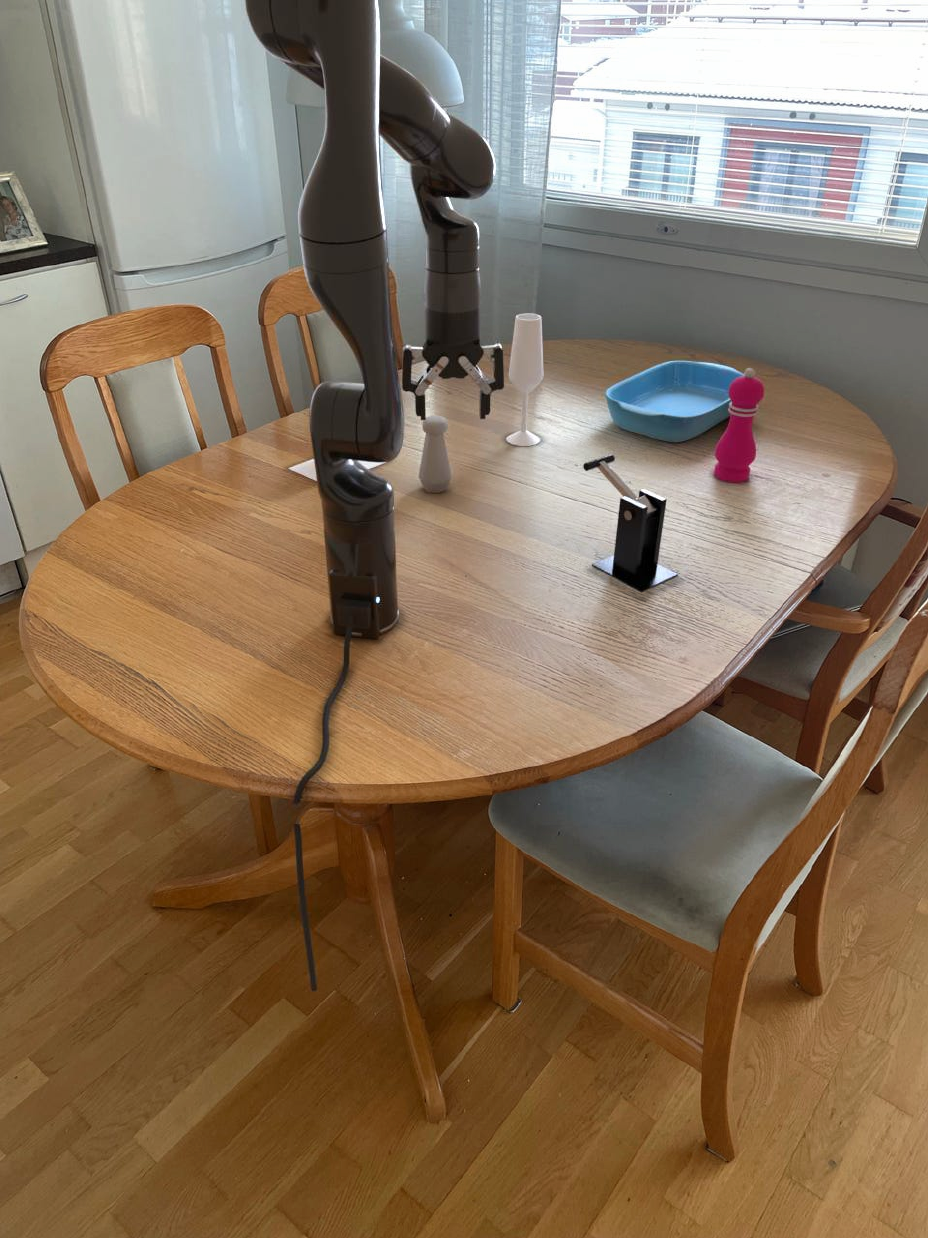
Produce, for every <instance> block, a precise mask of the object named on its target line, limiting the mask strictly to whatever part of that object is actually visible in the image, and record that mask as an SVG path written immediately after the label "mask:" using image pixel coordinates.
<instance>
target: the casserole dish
mask: <svg viewBox="0 0 928 1238" xmlns="http://www.w3.org/2000/svg"><path fill="white" fill-rule="evenodd" d="M742 376H745V375H744V372H743V373H742V372H741V371H739V370H736V369H735V368H733V367H730V366H727V365H724V364H723V365H722V364H718V363H712V362H704V361H703V362H702V361H690V360H672V361H666V362H663V363H660V364H656V365H654V366H652V367H650V368H647V369H646V370H644V371H641V372H639V373H637V374H635V375H632V376H631V377H627V378H626V379H624V380H621V381H619V382H617V383H616V384H614V385H612V386H610V387H609V388H607V390H606V391H605V393H604V395H605V398H606V403H607V407H608V411H609V414H610V417H611V420H612V421H613V422H614V424H615V425H617V426H618V428H620V429H622V430H625V431H628V432H631V433H634V434H637V435H641V436H645V437H647V438H651V439H654V440H658V441H663V442H668V443H681V442H686V441H689V440H692V439H693V438H695V437H698V436H700V435H702V434H703V433H705V432H707V431H708V430H710V429H712V428H713V427H715V426H717V425H718V424H720V423H722V422H723V421H724V420H726V419H728V418H730V412H729V411H728V409H729V407H730V406H729V403H730V402H732V401H731V399H730V398H729V395H728V391H729V387H730V385H731V383H732V382H733V381H734V380H735V379H736V378H738V377H742Z"/></svg>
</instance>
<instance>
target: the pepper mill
mask: <svg viewBox="0 0 928 1238" xmlns="http://www.w3.org/2000/svg"><path fill="white" fill-rule="evenodd" d="M743 374H744V375H745V376H742V377H738V378H736V379H735V380H734V381H733V382H732V383H731V385H730V387H729V391H728V395H729V398H730V399H731V401H732V402H730V403H729V406H730V407H729V409H728V411H729V412H730V416H729V421H728V425H727V427H726V430H725V431H724V433H723V434H722V436H721V437H720V438H719V440H718V442H717V443H716V445H715V449H714V457H715V459H716V461H717V462H716V463H715V465H714V470H713V474H714V476H715V478H717V479H719V480H720V481H723V482H729V483H741V482H745V481H747V480H748V479H749V478H750V474H751V467H750V465H751V464H752V463H753V462H754V461H755V460H756V458H757V457H756V456H757V447H756V441H755V438H754V433H753V423H754V422H753V421H754V417H755V416H756V415H758V410H759V405H758V404H759V403H760V402H761V401H762V400H763V399H764V396H765V386H764V383H763V382H762V380H760V379H759V378H757V377H755V375H756V371H755V370H754V368H751V367H748V368H746V369H745V370H744V372H743Z"/></svg>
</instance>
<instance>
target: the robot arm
mask: <svg viewBox="0 0 928 1238" xmlns="http://www.w3.org/2000/svg"><path fill="white" fill-rule="evenodd" d="M244 3H245V11H246V15H247V19H248V23H249V26H250V28H251V31H252V33H253V35H254V37H255V38H256V40H257V41H258V43H259V45H261V47H262V48H263V49H264V50H265V51H266V52H267V53H268V54H269V55H270V56H271V57H272V58H274V59H276V60H277V61H279V62H280V63H281V64H283V65H285V66H286V67H288V68H289V69H291V70H293V71H295V72H297V74H299V75H301V76H303V77H304V78H306V79H308V80H309V81H310V82H312V83H314V85H316V86H318V87H319V88H320V89H321V90H323V91H324V102H325V103H324V104H325V105H324V106H325V107H324V108H325V122H324V123H325V125H324V131H323V138H322V141H321V145H320V148H319V150H318V153H317V156H316V159H315V161H314V163H313V165H312V167H311V170H310V172H309V175H308V177H307V179H306V182H305V184H304V188H303V191H302V193H301V196H300V199H299V205H298V210H297V224H298V226H297V227H298V236H299V243H300V251H301V258H302V266H303V272H304V276H305V280H306V282H307V285H308V286H309V289H310V291H311V292H312V295H313V296H314V298H315V299H316V300H317V302H318V304H319V305H320V307H321V308H322V309H323V311H324V312H325V314H326V315H327V316H328V317H329V319H330V321H332V323H333V324H334V326H335V328H337V329H338V331H339V332H340V334H341V336H343V338H344V339H345V341H346V343H347V344H348V346H349V347H350V349H351V351H352V353H353V356H354V357H355V359H356V362H357V364H358V367H359V371H360V374H361V379H362V382H363V383H362V382H351V381H341V380H327V381H323V382H321V383H319V385H318V386H317V387H316V388H315V390H314V392H313V393H312V397H311V400H310V405H309V415H308V416H309V417H308V418H309V433H310V434H309V435H310V442H311V449H312V455H313V459H314V463H315V470H316V478H317V481H316V485H317V487H316V488H317V492H318V495H319V497H320V500H321V501H320V502H321V511H322V513H321V514H322V522H323V523H322V525H323V538H324V548H325V550H324V551H325V560H326V572H327V585H328V586H327V587H328V595H329V596H328V598H329V607H330V615H329V616H330V617H329V618H330V624H331V626H332V629H333V634H334V635H338V636H345V637H344V642H343V664H342V669H341V673H340V676H339V678H338V681H337V683H336V685H335V687H334V688H333V690H332V691H331V693H330V695H329V696H328V698H327V700H326V702H325V704H324V708H323V712H322V719H321V728H322V730H321V731H322V744H321V750H320V754H319V758H318V760H317V761H316V763H314V765H313V766H312V767H311V768H310V769H309V770H307V772H306V773H305V774H304V775H303V777H302V778H301V779H300V781H299V783H298V785H297V787H296V791H295V793H294V797H293V804H294V805H298V804H300V803H301V799H302V796H303V792H304V790H305V787H306V785H307V783H308V782H309V781H310V780H311V779H312V777H313V776H315V775H316V774H317V773H318V772H319V771H320V769H322V767H323V765H324V763H325V761H326V759H327V756H328V752H329V746H330V730H329V729H330V728H329V719H330V712H331V708H332V705H333V702H334V701H335V699H336V698H337V696H338V694H339V693H340V691H341V689H342V687H343V686H344V683H345V681H346V679H347V676H348V672H349V668H350V648H351V647H350V646H351V641H352V637H354V638H364V639H371V640H378V639H379V637H380V636H381V635H383V634H385V633H387V632H389V631H391V630H392V629H393V628H395V627H396V626H397V624H398V622H399V620H400V612H399V602H398V578H397V552H396V521H395V519H396V518H395V493H394V488H393V486H392V484H391V483H390V481H389V480H388V479H386V478H385V477H383V476H382V475H380V474H378V473H376V472H374V471H373V470H371V469H367V468H366V467H364V466H363V465H361V464H360V463H359V462H358V461H366V462H378V463H383V464H385V463H384V462H386V463H389V462H390V463H391V462H392V461H394V460H395V459H396V458H397V457H398V456H399V455H400V453H401V450H402V447H403V443H404V437H405V410H404V403H403V395H402V390H403V391H404V392H406V393H407V392H409V393H412V394H413V395H414V405H415V406H414V408H415V410H414V411H415V415H416V417H420V421H423V420H426V416H427V415H426V414H427V413H426V391H427V390H428V388H429V387H430V386H432V385H433V383H434V382H435V381H436V379H437V378H438V377H439V378H441V379H442V380H449V379H454V378H455V379H459V380H460V379H462V380H463V379H465V378H466V377H468V376H469V377H470V378H471V379H472V381H473V382H474V383H475V385H476V386H478V388H479V405H478V406H479V407H478V408H479V410H478V411H479V414H478V415H479V419H480V420H486V416H489V415H490V413H491V395H492V394H493V392H495V391H501V390H503V389H504V387H505V373H504V372H505V371H504V368H505V367H504V349H503V347H502V344H501V343H500V342H498V341H497V342H494V343H493V344H492V345H482V343H481V302H482V301H481V299H482V294H481V293H482V285H481V275H480V228H479V225H478V224H477V223H476V221H474V220H473V219H471V218H469V217H466V216H464V215H461V214H459V213H458V212H457V211H456V210H455V209H454V207H453V204H452V203H451V200H450V199H459V200H467V201H468V200H469V201H470V200H476V199H479V198H481V197H483V196H485V194H487V192H488V191H489V190H490V189H491V187H492V185H493V183H494V180H495V178H496V177H495V176H496V159H495V156H494V153H493V150H492V148H491V146H490V144H489V142H488V141H487V140H486V139H485V138H484V137H483V136H482V135H481V134H480V133H479V132H478V131H477V130H476V129H474V128H473V127H471V126H470V125H468V124H466V123H465V122H463V121H462V120H461V119H459V118H457V117H455V116H454V115H452V114H450V113H449V112H448V111H447V112H446V111H445V110H444V108H443V107H442V105H441V104H440V103H439V102H438V100H437V99H436V97H434V96H433V95H432V93H431V92H430V91H429V89H428V88H427V87H426V86H425V85H424V84H423V83H422V82H421V81H420V80H419V79H418V78H417V77H416V76H414V75H413V74H412V73H411V72H409V71H408V70H406V69H405V68H403V67H402V66H400V65H398V64H397V63H395V62H394V61H392V60H390V59H388V58H387V57H385V56H384V55H382V54H381V21H380V8H379V0H244ZM381 139H383V141H385V143H387V145H388V146H390V148H391V149H392V150H393V151H394V152H395V153H396V154H397V155H398V156H400V158H401V159H403V160H404V162H407V163H408V164H409V176H410V182H411V186H412V187H411V188H412V191H413V194H414V198H415V201H416V205H417V209H418V212H419V216H420V221H421V224H422V228H423V233H424V242H425V245H424V247H425V275H424V284H423V285H424V286H423V301H424V335H425V336H424V344H423V346H412V345H411V344H409V343H405V344H404V345H403V346H402V362H401V363H402V365H401V367H402V368H401V369H402V370H401V380H400V374H399V368H398V362H397V354H396V348H395V347H396V346H395V341H394V333H393V331H394V330H393V320H392V306H391V287H390V263H389V261H390V259H389V248H388V233H387V222H386V221H387V220H386V212H385V200H384V189H383V175H382V174H383V173H382V159H381ZM484 355H485V356H486V357H487V359H488V361H489V362H490V363H492V365H493V366H492V368H493V369H492V370H493V378H491V379H487V377H486V376H485V375H484V373H483V372H482V371H481V369H480V368H479V366H478V364H479V363H480V361H481V359H482V358H483V356H484ZM420 357H422V358H423V359H424V361H425V362H426V364H427V366H426V367H425V368H424V370H423V372H422V374H421V375H420V376H419V378H418V380H417V381H415V380H412V369H413V368H412V366H413V365H414V364H417V362H418V359H419V358H420ZM292 826H293V833H294V846H295V863H296V877H297V890H298V898H299V899H298V900H299V908H300V909H299V910H300V917H301V924H302V931H303V938H304V945H305V952H306V959H307V966H308V975H309V982H310V990H311V992H317V990H318V984H317V976H316V967H315V959H314V952H313V944H312V939H311V929H310V922H309V915H308V907H307V906H308V905H307V898H306V897H307V895H306V887H305V874H304V873H305V872H304V859H303V857H304V856H303V839H302V829H301V824H300V823H294V822H293V824H292Z"/></svg>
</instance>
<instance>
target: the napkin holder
mask: <svg viewBox="0 0 928 1238" xmlns="http://www.w3.org/2000/svg"><path fill="white" fill-rule="evenodd" d="M358 462H359V463H360V464H361V465H363V466H364V467H366V468H367V469H369V470H371V469H373V468H375V467H378V466H380V465H384V464H386V463H387V462H384V463H378V462H366V461H358ZM287 469H288V470H290V471H293V472H294V473H297V474H299V475H302V476H304V477H306V478H308V479H311V480H313V481H315V482H317V478H316V470H315V463H314V458H312V459H309V460H306V461H304V462H301V463H298V464H295V465H293V466H291V467H288V468H287Z"/></svg>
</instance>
